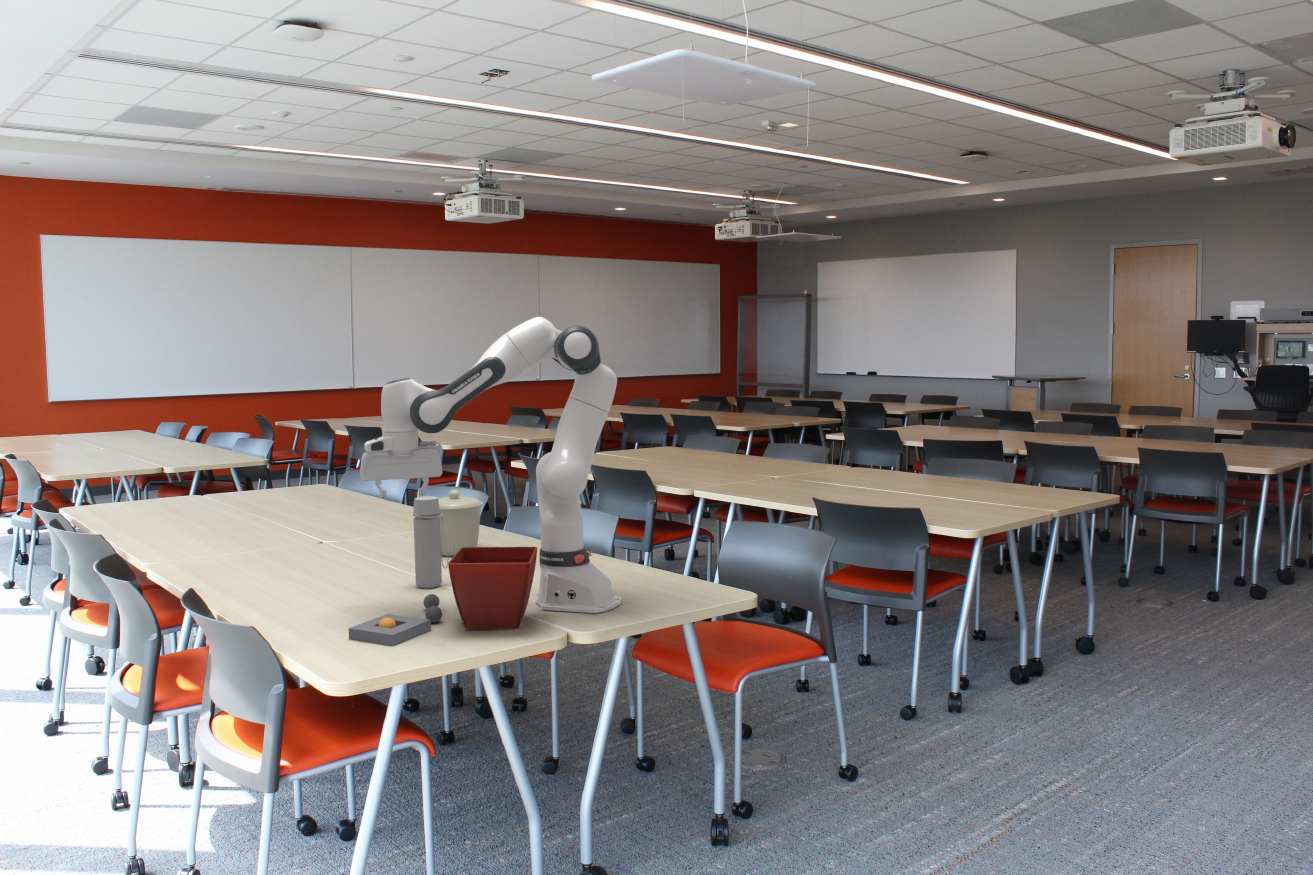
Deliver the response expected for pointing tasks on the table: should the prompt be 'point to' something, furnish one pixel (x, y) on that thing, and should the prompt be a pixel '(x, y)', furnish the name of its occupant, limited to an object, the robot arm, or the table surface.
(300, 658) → the table surface
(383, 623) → the orange ball
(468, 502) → the canister
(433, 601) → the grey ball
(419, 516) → the water bottle
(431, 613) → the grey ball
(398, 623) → the grey square frame
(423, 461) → the robot arm
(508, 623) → the plant pot
